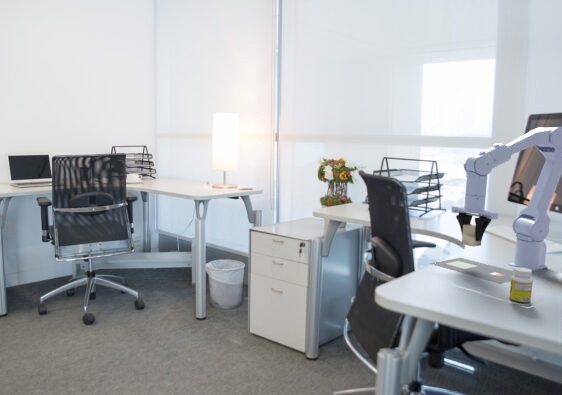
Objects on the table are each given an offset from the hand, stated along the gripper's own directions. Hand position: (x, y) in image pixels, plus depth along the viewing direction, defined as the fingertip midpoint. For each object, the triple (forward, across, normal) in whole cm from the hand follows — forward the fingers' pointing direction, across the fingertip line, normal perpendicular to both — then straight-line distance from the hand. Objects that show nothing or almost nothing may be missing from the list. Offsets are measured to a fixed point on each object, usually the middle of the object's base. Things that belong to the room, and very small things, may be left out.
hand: (471, 239), depth 150 cm
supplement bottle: (+9, +26, -18) cm, 33 cm away
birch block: (+2, 0, 0) cm, 2 cm away
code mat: (+9, +3, 0) cm, 10 cm away
